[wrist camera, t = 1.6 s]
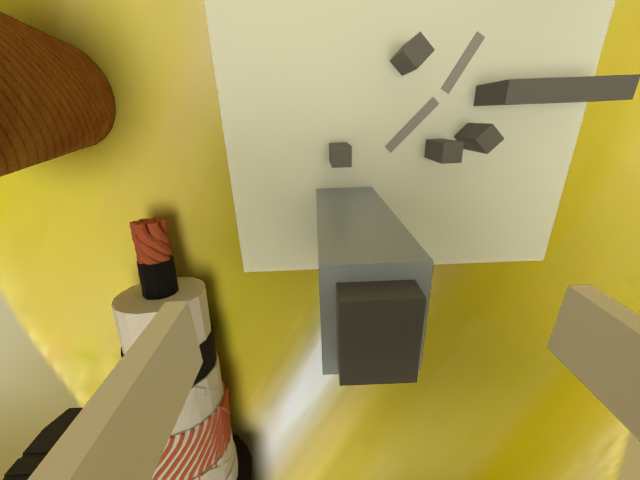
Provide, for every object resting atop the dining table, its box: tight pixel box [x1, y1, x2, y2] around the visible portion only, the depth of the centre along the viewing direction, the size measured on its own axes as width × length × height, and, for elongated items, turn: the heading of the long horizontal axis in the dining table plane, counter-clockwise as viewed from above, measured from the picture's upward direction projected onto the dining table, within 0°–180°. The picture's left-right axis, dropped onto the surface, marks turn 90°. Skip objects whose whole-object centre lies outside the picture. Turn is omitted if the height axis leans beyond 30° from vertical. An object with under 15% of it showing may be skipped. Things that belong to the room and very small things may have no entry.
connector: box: [316, 187, 434, 386], centre depth 16 cm, size 5×4×13 cm
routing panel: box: [204, 0, 640, 272], centre depth 19 cm, size 20×24×4 cm
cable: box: [111, 218, 254, 480], centre depth 25 cm, size 10×34×10 cm, turn 1°
